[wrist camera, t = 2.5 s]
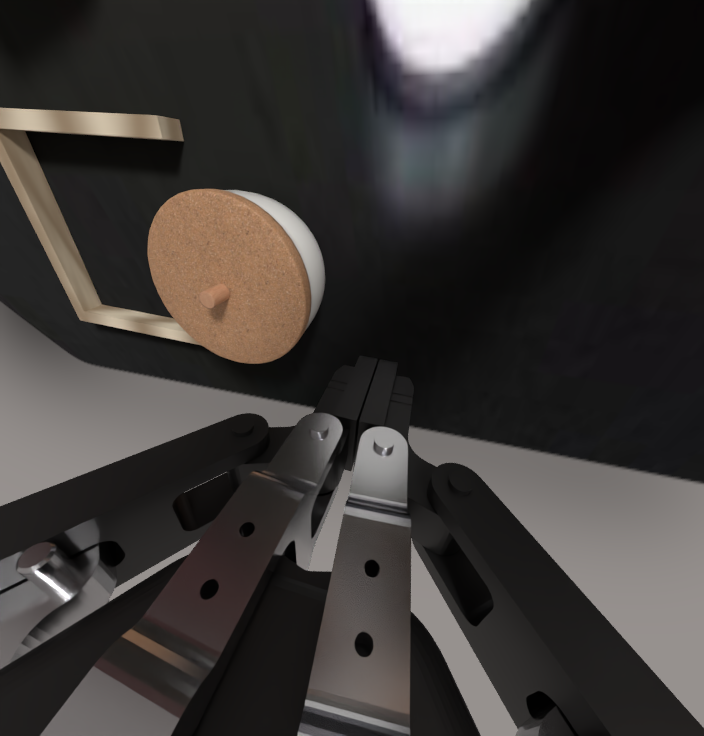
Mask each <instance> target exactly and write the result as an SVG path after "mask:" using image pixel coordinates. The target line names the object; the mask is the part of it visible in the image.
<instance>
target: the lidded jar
mask: <svg viewBox="0 0 704 736" xmlns="http://www.w3.org/2000/svg"><path fill="white" fill-rule="evenodd" d="M148 260H149V266H150V270H151V274H152V278H153V281H154V284H155V286H156V289H157V291H158V293H159V295H160V297H161V299H162V301H163V303H164V305H165V306H166V308H167V309H168V311H169V312H170V314H171V315H172V317H173V318H174V319H175V320H176V322H177V323H178V324H179V325H180V326H181V327H182V328H183V329H184V330H185V331H186V332H187V333H188V334H189V335H190V336H191V337H192V338H193V339H194V340H195V341H197V342H198V343H199V344H201V345H202V346H203V347H205V348H206V349H208V350H210V351H211V352H213V353H215V354H217V355H219V356H221V357H224V358H226V359H229V360H232V361H236V362H240V363H249V364H259V363H266V362H271V361H273V360H276V359H278V358H280V357H282V356H283V355H285V354H286V353H288V352H289V351H290V350H291V349H292V348H293V347H294V346H295V344H296V343H297V342H298V341H299V339H300V338H301V336H302V335H303V333H304V332H305V330H306V329H307V328H308V326H309V325H310V323H311V322H312V320H313V319H314V317H315V315H316V313H317V311H318V309H319V306H320V304H321V301H322V297H323V293H324V289H325V269H324V262H323V258H322V254H321V251H320V248H319V246H318V243H317V241H316V240H315V238H314V236H313V234H312V233H311V231H310V230H309V228H308V227H307V226H306V224H305V223H304V222H303V221H302V220H301V219H300V218H299V217H298V216H297V215H296V214H295V213H294V212H292V211H291V210H290V209H289V208H287V207H286V206H285V205H283V204H281V203H279V202H277V201H276V200H273V199H271V198H268V197H265V196H263V195H260V194H257V193H251V192H245V191H239V190H218V189H195V190H189V191H186V192H182V193H179V194H177V195H175V196H174V197H172V198H170V199H169V200H168V201H167V202H166V203H165V204H163V205H162V206H161V207H160V209H159V211H158V212H157V214H156V215H155V217H154V220H153V222H152V225H151V228H150V231H149V238H148Z"/></svg>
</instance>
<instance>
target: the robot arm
mask: <svg viewBox="0 0 704 736" xmlns="http://www.w3.org/2000/svg"><path fill="white" fill-rule="evenodd" d="M378 361H379V363H378ZM397 367H398V362H393V361H388V360H383V359H380V360H379V359H377V358H372V357H367V356H362V355H360V356H359V358H358V360H357V363H356V365H355V367H352V366H347V365H344V366H342V367H341V368H339V369H338V370H336V371H335V373H334V375H333V377H332V378H331V381H330V382H329V384H328V386H327V388H326V390H325V392H324V393H323V395H322V397H321V399H320V401H319V403H318V405H317V407H316V408H315V410H314V412H313V413H312V414H309V415H307V416H305V417H303V418H302V419H301V420H300V421H299V422H298V423H297V425H296V426H291V427H272V428H271V427H268V423H267V421H266V420H265V419H264V418H263V417H262V416H259V415H257V414H251V413H247V414H240V415H236V416H234V417H231V418H228V419H226V420H223V421H221V422H218V423H215V424H213V425H210V426H208V427H205V428H202V429H200V430H197V431H195V432H192V433H190V434H187V435H184V436H182V437H179V438H177V439H174V440H171V441H169V442H166V443H164V444H161V445H159V446H156V447H153V448H151V449H148V450H145V451H143V452H140V453H138V454H136V455H132V456H130V457H127V458H125V459H122V460H120V461H117V462H114V463H112V464H109V465H106V466H104V467H101V468H99V469H96V470H93V471H91V472H88V473H86V474H83V475H81V476H78V477H76V478H73V479H70V480H68V481H65V482H63V483H60V484H57V485H55V486H52V487H49V488H47V489H44V490H42V491H39V492H37V493H34V494H31V495H29V496H26V497H24V498H21V499H18V500H16V501H13V502H11V503H8V504H5V505H3V506H0V736H480V733H479V731H478V729H477V727H476V725H475V723H474V720H473V718H472V716H471V714H470V712H469V710H468V708H467V706H466V703H465V701H464V699H463V697H462V695H461V693H460V691H459V689H458V687H457V685H456V683H455V680H454V678H453V676H452V674H451V672H450V670H449V668H448V665H447V663H446V661H445V659H444V657H443V655H442V653H441V651H440V649H439V648H438V646H437V645H436V643H435V641H434V639H433V638H432V636H431V635H430V633H429V632H428V630H427V629H426V628H425V626H424V625H423V624H422V623H421V622H420V621H419V619H418V618H417V617H416V616H415V615H414V614H413V613H412V612H411V611H410V608H411V538H412V541H413V544H414V547H415V549H416V550H417V552H418V554H419V556H420V557H421V559H422V561H423V563H424V564H425V566H426V568H427V570H428V572H429V573H430V575H431V577H432V579H433V580H434V582H435V584H436V586H437V587H438V589H439V591H440V593H441V594H442V596H443V598H444V600H445V601H446V603H447V605H448V607H449V609H450V610H451V612H452V614H453V615H454V617H455V619H456V621H457V623H458V624H459V626H460V628H461V630H462V631H463V633H464V635H465V637H466V638H467V640H468V642H469V644H470V645H471V647H472V649H473V651H474V653H475V654H476V656H477V658H478V659H479V661H480V663H481V665H482V667H483V668H484V670H485V672H486V674H487V675H488V677H489V679H490V681H491V682H492V684H493V686H494V688H495V689H496V691H497V693H498V695H499V696H500V698H501V700H502V702H503V703H504V705H505V707H506V709H507V711H508V712H509V714H510V716H511V718H512V719H513V721H514V723H515V725H516V726H517V728H518V731H517V733H516V736H704V728H703V727H702V726H701V725H700V724H699V722H698V721H697V720H696V719H695V718H694V717H693V716H692V715H691V713H690V712H689V711H688V710H687V709H686V708H685V707H684V706H683V705H682V704H681V702H680V701H679V700H678V699H677V698H676V697H675V696H674V695H673V693H672V692H671V691H670V690H669V689H668V688H667V687H666V686H665V684H664V683H663V682H662V681H661V680H660V679H659V678H658V677H657V675H656V674H655V673H654V672H653V671H652V670H651V669H650V667H649V666H648V665H647V664H646V663H645V662H644V661H643V660H642V658H641V657H640V656H639V655H638V654H637V653H636V652H635V651H634V650H633V648H632V647H631V646H630V645H629V644H628V643H627V642H626V641H625V639H624V638H622V636H621V635H620V634H619V633H618V632H617V630H616V629H615V628H614V627H613V626H612V625H611V624H610V623H609V621H608V620H607V619H606V618H605V617H604V616H603V615H602V614H601V612H600V611H599V610H598V609H597V608H596V607H595V606H594V605H593V604H592V603H591V601H590V600H589V599H588V598H587V597H586V596H585V595H584V594H583V593H582V591H581V590H580V589H579V588H578V587H577V586H576V584H575V583H574V582H573V581H572V580H571V579H570V578H569V577H568V575H566V573H565V572H564V571H563V570H562V569H561V568H560V567H559V565H558V564H557V563H556V562H555V561H554V560H553V559H552V558H551V557H550V555H549V554H548V553H547V552H546V551H545V550H544V549H543V547H542V546H541V545H540V544H539V543H538V542H537V541H536V540H535V539H534V537H533V536H532V535H531V534H530V533H529V532H528V531H527V530H526V529H525V527H524V526H523V525H522V524H521V523H520V522H519V521H518V519H517V518H516V517H515V516H514V515H513V514H512V513H511V512H510V510H509V509H508V508H507V507H506V506H505V505H504V504H503V503H502V501H501V500H500V499H499V498H498V497H497V496H496V495H495V494H494V492H493V491H492V490H491V489H490V488H489V487H488V486H487V485H486V483H485V482H484V481H483V480H482V479H481V478H480V477H479V476H478V475H477V474H476V473H475V472H473V471H472V470H471V469H469V468H468V467H465V466H463V465H460V464H456V463H445V464H441V465H439V466H438V467H435V466H434V465H432V464H430V463H428V462H426V461H424V460H423V459H421V458H420V457H419V456H417V455H416V454H415V453H414V451H413V450H412V449H411V447H410V445H409V442H408V430H409V423H410V415H411V407H412V400H413V399H412V398H413V392H414V386H413V384H412V382H411V380H410V378H407V377H402V376H397V375H396V373H397ZM354 460H355V461H354ZM353 463H354V470H353V477H352V482H351V487H350V492H349V497H348V500H347V501H346V505H345V510H344V515H343V520H342V524H341V529H340V534H339V539H338V544H337V549H336V554H335V559H334V564H333V569H332V572H316V571H313V572H312V571H308V568H309V564H310V561H311V557H312V552H313V549H314V546H315V543H316V540H317V538H318V535H319V533H320V531H321V529H322V526H323V523H324V521H325V519H326V517H327V514H328V512H329V509H330V507H331V504H332V502H333V500H334V498H335V495H336V493H337V490H338V484H339V482H340V480H341V477H342V473H343V471H344V469H345V470H349V471H351V470H352V467H353ZM225 472H227V473H225ZM223 473H224V474H223ZM221 474H222V475H221ZM219 475H220V476H219ZM216 476H218V477H216ZM214 477H216V478H214ZM213 478H214V479H213ZM210 479H212V480H210ZM208 480H210V481H208ZM206 481H208V482H206ZM204 482H206V483H204ZM202 483H204V484H202ZM200 484H202V485H200ZM198 485H199V486H198ZM196 486H197V487H196ZM194 487H196V488H194ZM191 488H193V489H191ZM189 489H191V490H189ZM187 490H189V491H187ZM185 491H187V492H185ZM184 492H185V493H184ZM198 540H199V542H198V543H197V544H196V546H195V547H194V548H193V550H192V551H191V553H190V554H189V555H187V556H185V557H183V558H181V559H178V560H177V561H175V562H173V563H171V564H170V565H168V566H167V567H165V568H163V569H162V570H160V571H158V572H157V573H155V574H153V575H152V576H150V577H149V578H147V579H145V580H144V581H142V582H141V583H139V584H137V585H136V586H134V587H133V588H131V589H129V590H128V591H126V592H124V593H123V594H121V595H120V596H118V597H116V598H115V599H113V600H112V601H110V602H109V598H110V596H111V595H112V593H113V591H114V588H116V587H117V586H119V585H121V584H122V583H124V582H126V581H128V580H130V579H131V578H133V577H135V576H137V575H138V574H140V573H142V572H144V571H145V570H147V569H149V568H151V567H152V566H154V565H156V564H158V563H159V562H161V561H163V560H165V559H166V558H168V557H170V556H172V555H173V554H175V553H177V552H178V551H180V550H182V549H184V548H186V547H187V546H189V545H191V544H192V543H194V542H196V541H198Z"/></svg>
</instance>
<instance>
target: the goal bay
mask: <svg viewBox="0 0 704 736" xmlns="http://www.w3.org/2000/svg"><path fill="white" fill-rule="evenodd" d="M25 131H35V132H50V133H65V134H81V135H96V136H111V137H126V138H141V139H157V140H172V141H184V140H183V135H182V130H181V125H180V120H178V119H173V118H167V117H162V116H157V115H136V114H115V113H95V112H74V111H53V110H33V109H12V108H0V162H1V164H2V166H3V168H4V170H5V172H6V174H7V176H8V178H9V180H10V182H11V184H12V186H13V188H14V190H15V192H16V194H17V196H18V198H19V200H20V202H21V204H22V206H23V208H24V210H25V212H26V214H27V216H28V218H29V220H30V222H31V224H32V226H33V228H34V229H35V231H36V233H37V235H38V237H39V239H40V241H41V243H42V245H43V247H44V249H45V251H46V253H47V255H48V257H49V259H50V261H51V263H52V265H53V267H54V269H55V271H56V273H57V275H58V277H59V279H60V281H61V283H62V285H63V287H64V289H65V291H66V293H67V295H68V297H69V299H70V301H71V303H72V305H73V307H74V309H75V311H76V313H77V315H78V317H79V319H80V320H81V321H86V322H91V323H96V324H101V325H106V326H110V327H115V328H120V329H125V330H130V331H135V332H139V333H144V334H149V335H154V336H159V337H163V338H168V339H173V340H178V341H183V342H188V343H192V344H197V345H201V344H199V343H198V342H197V341H195V340H194V339H193V338H192V337H191V336H190V335H189V334H188V333H187V332H186V331H185V330H184V329H183V328H182V327H181V326H180V325H179V324H178V323H177V322H176V320H175V319H174V318H169V317H163V316H158V315H153V314H148V313H143V312H137V311H132V310H127V309H122V308H117V307H111V306H106V305H102V304H101V301H100V299H99V297H98V295H97V292H96V290H95V288H94V286H93V283H92V281H91V279H90V277H89V274H88V272H87V270H86V268H85V265H84V263H83V261H82V258H81V256H80V254H79V252H78V249H77V247H76V245H75V243H74V240H73V238H72V236H71V234H70V231H69V229H68V227H67V225H66V222H65V220H64V218H63V216H62V213H61V211H60V209H59V207H58V204H57V202H56V200H55V198H54V195H53V193H52V191H51V189H50V186H49V184H48V182H47V180H46V177H45V175H44V173H43V171H42V168H41V166H40V164H39V162H38V159H37V157H36V155H35V153H34V150H33V148H32V146H31V144H30V141H29V139H28V137H27V134H26V132H25Z"/></svg>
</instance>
